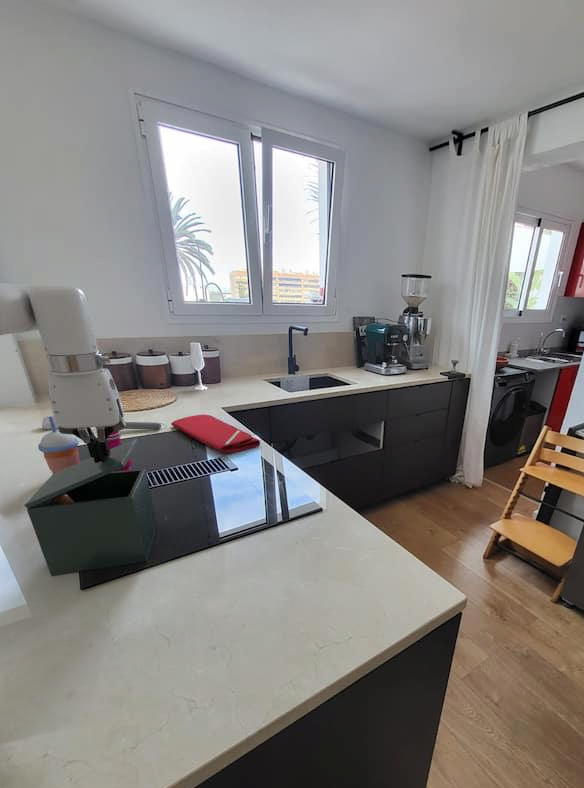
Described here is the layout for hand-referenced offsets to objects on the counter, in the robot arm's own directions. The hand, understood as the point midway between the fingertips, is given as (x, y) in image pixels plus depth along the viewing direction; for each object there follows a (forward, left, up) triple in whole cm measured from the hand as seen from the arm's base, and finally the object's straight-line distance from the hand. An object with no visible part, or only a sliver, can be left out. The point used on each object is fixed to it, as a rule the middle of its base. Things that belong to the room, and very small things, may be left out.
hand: (102, 459), depth 76 cm
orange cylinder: (-3, 0, -19) cm, 19 cm away
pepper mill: (-9, +38, -21) cm, 44 cm away
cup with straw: (-23, +41, -21) cm, 51 cm away
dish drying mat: (+16, +68, -21) cm, 73 cm away
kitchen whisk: (-19, +82, -21) cm, 87 cm away
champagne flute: (+7, +149, -21) cm, 151 cm away
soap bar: (-42, +92, -21) cm, 103 cm away
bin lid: (-3, 0, -2) cm, 4 cm away
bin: (-3, 0, -20) cm, 21 cm away
